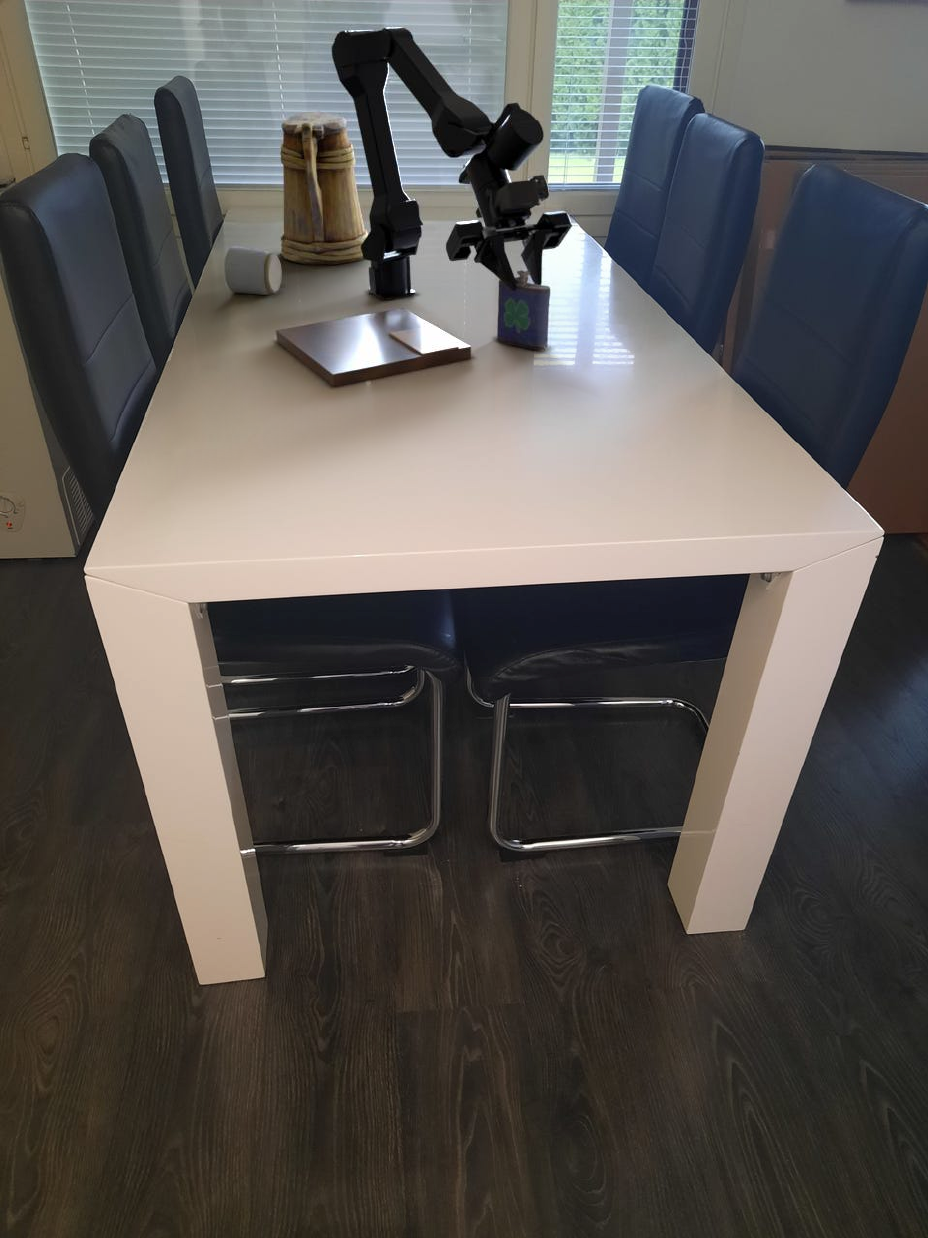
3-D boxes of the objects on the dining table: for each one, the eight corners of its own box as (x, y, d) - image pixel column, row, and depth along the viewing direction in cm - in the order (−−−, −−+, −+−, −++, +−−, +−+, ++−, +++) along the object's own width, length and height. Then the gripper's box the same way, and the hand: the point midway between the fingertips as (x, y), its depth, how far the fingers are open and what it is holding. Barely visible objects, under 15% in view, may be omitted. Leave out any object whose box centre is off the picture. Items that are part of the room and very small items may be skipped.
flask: (550, 347, 130) (554, 273, 124) (539, 352, 128) (542, 277, 122) (503, 335, 135) (504, 263, 129) (491, 340, 133) (492, 267, 127)
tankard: (369, 242, 184) (361, 108, 170) (370, 271, 166) (361, 123, 151) (285, 244, 183) (268, 109, 168) (276, 274, 164) (257, 124, 149)
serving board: (402, 318, 142) (402, 305, 141) (471, 358, 127) (471, 344, 125) (277, 341, 133) (275, 327, 132) (334, 387, 118) (332, 372, 116)
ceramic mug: (270, 299, 150) (264, 253, 146) (227, 297, 152) (220, 251, 147) (292, 284, 159) (287, 240, 154) (251, 282, 160) (245, 238, 156)
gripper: (452, 159, 117) (488, 262, 115) (570, 149, 123) (605, 247, 122) (431, 211, 127) (463, 307, 125) (540, 200, 133) (572, 291, 132)
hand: (527, 287), depth 126 cm, fingers closed on flask, 4 cm apart
